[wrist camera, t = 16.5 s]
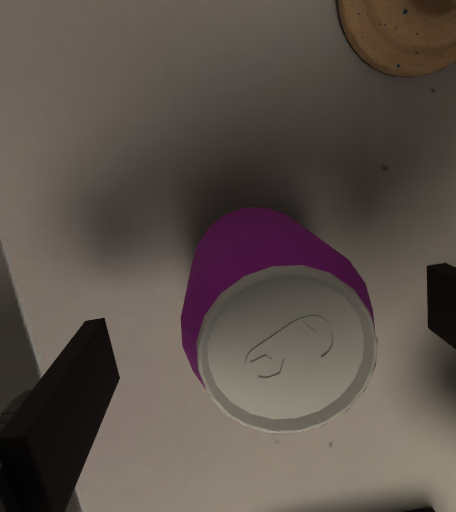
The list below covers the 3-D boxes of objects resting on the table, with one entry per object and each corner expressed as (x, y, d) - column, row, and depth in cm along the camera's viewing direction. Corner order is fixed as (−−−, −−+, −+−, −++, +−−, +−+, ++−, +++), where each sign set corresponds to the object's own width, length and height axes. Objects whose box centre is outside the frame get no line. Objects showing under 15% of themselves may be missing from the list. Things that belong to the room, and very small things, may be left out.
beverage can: (228, 337, 26) (241, 484, 14) (170, 240, 24) (130, 316, 12) (330, 285, 25) (432, 393, 13) (279, 181, 23) (345, 202, 12)
